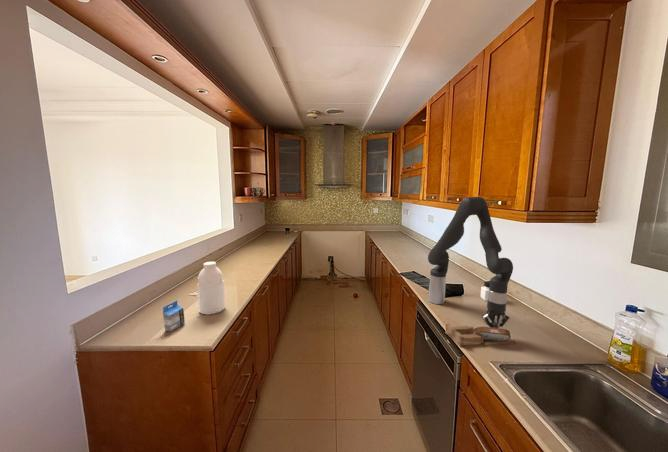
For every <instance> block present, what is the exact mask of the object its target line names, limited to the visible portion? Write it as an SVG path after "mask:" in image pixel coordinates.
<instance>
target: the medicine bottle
mask: <svg viewBox="0 0 668 452" xmlns="http://www.w3.org/2000/svg"><path fill="white" fill-rule="evenodd" d="M489 286H490V280H484V282H483V286H481V288H480V298H481V299H482V300H483V301H484V302H487V301H488V292H489Z"/></svg>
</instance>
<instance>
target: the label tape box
mask: <svg viewBox="0 0 668 452" xmlns="http://www.w3.org/2000/svg"><path fill="white" fill-rule="evenodd" d="M162 314H163V315H162V316H163V323H164V331H165V332H173V331H174V330H176V329H177V328H179V327H181V326H182V325H184V324H185V323H186V321H185V320H186V319H185V312H184V308H183V306H180V305H179V304H178V300H175V301H173V302H171V303H168V304H166V305H164V306H163V307H162Z"/></svg>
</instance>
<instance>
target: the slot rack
mask: <svg viewBox="0 0 668 452" xmlns="http://www.w3.org/2000/svg"><path fill="white" fill-rule="evenodd" d="M474 329H475V328H474V326H473V325H472V326H469V325H459V326H458V325H457V326H452V325H451V324H450V323H446V324H445V334H446V335H448V337H449V338H450V339H451V340H452V341H453V342H454V343H456V345H458V346H459V348H463V347H464V346H468V345H469V346H471V345H472V346H473V345H481V344H483V345H484V346H489V345H490V346H491V345H502V344H514V343H516V340H515V339H511V338H510V339H509V340H507V341H496V340H492V341H485V342H484V340H485V339H484V335H481V334H474V332H473V330H474Z"/></svg>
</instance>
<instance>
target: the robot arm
mask: <svg viewBox="0 0 668 452" xmlns="http://www.w3.org/2000/svg"><path fill="white" fill-rule="evenodd" d="M471 216H476V217H477V218H478V220H479V223H480V227H479V241H480V243H481V246H482V248H483V251H484V253H485V254H484V255H485V262H486V266H487V269H488V270H489V272H490V273H491V274H494V276H493V277H491V278H490V280H489V281H490V286H489V292H488V301H486V303H487V304H486V308H487V310H486V314H485V315H481V319H482V320H483V321H484V323H485V324H486V325H487V327H492V328H501V327H502V328H503V326H504V325H505V324H506V323H507V322H508V321H509V320H510V316H508V315H507V314H506V311H507V301H508V287H509V286H508V285H509V283H510V282H509V281H510V279H511V278H512V277H511V276H512V274H513V270H514V264H513V262H512V260H511V259H509V258H507V257H499V254H500V253H501V252H502V250H503V249H502V245H501V244H500V241H499V239H498V237H497V235H496V232H495V229H494V227H493V222H492V218H491V215H490V211H489V207H488V204H487V201H486V200H485V198H484V197H482V196H469V197H468V196H467V197H465V198H463V199H462V200H461V201H460V203H459V205H458V207H457V209H456V210H455V213H454V215H453V217H452V219H451V221H450V222H449V224H448V225H447V226H446V228H445V230H444V232H443V233H442V234H441V236H440V238H439V239H438V241H437V242H436V244H435V245H434V246H433V247H432V249H431V250H430V251H429V252H428V256H427V260H428V263H429V264H430V265H434V266H435V267H433V268H431V269H430V275H429V285H428V286H429V287H428V301H429V302H430V303H432V304H435V305H443V304H445V300H446V298H445V297H446V284H447V283H446V282H447V273H448V270H449V262H450V261H449V260H450V256H449V252H448V251H447V250H449V249H451V248H453V247H455V245H457V244H458V243H459V242H460V240H461V239H462V237H463V236H464V234H465V225H464V224H465V223H466V220H467V219H468V218H470V217H471Z"/></svg>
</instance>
